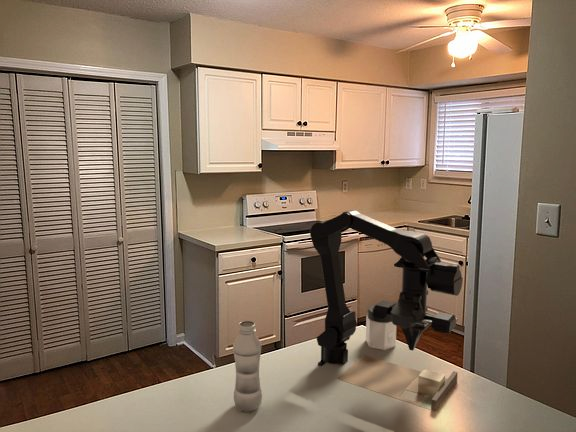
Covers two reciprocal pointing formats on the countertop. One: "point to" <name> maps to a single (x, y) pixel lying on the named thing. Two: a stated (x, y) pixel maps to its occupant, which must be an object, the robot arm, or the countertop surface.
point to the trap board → (394, 381)
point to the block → (430, 382)
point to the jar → (380, 331)
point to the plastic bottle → (247, 368)
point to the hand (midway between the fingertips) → (411, 349)
